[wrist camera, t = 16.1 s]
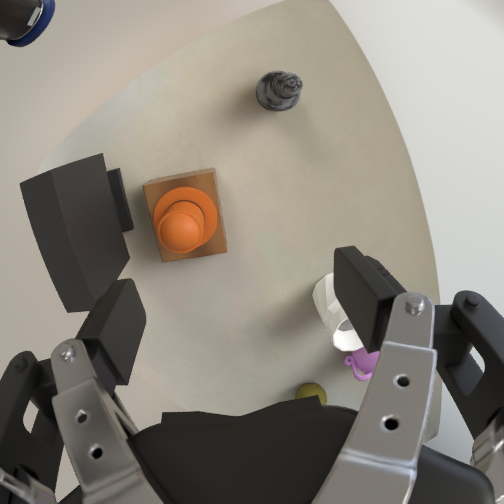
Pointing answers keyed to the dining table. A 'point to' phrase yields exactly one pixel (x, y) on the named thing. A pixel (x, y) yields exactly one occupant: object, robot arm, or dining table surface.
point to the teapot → (362, 363)
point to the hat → (184, 219)
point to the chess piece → (279, 90)
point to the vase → (334, 316)
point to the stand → (197, 180)
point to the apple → (312, 392)
